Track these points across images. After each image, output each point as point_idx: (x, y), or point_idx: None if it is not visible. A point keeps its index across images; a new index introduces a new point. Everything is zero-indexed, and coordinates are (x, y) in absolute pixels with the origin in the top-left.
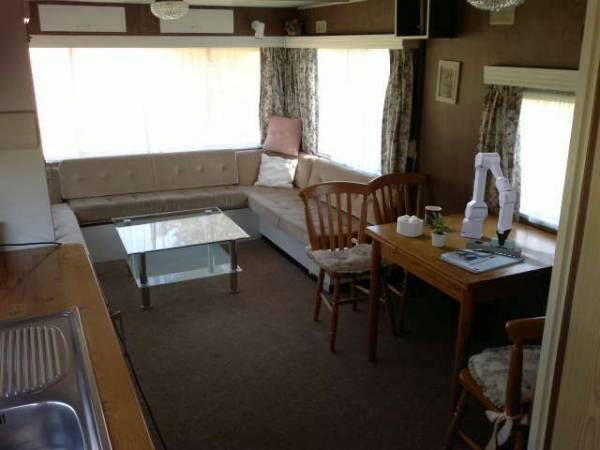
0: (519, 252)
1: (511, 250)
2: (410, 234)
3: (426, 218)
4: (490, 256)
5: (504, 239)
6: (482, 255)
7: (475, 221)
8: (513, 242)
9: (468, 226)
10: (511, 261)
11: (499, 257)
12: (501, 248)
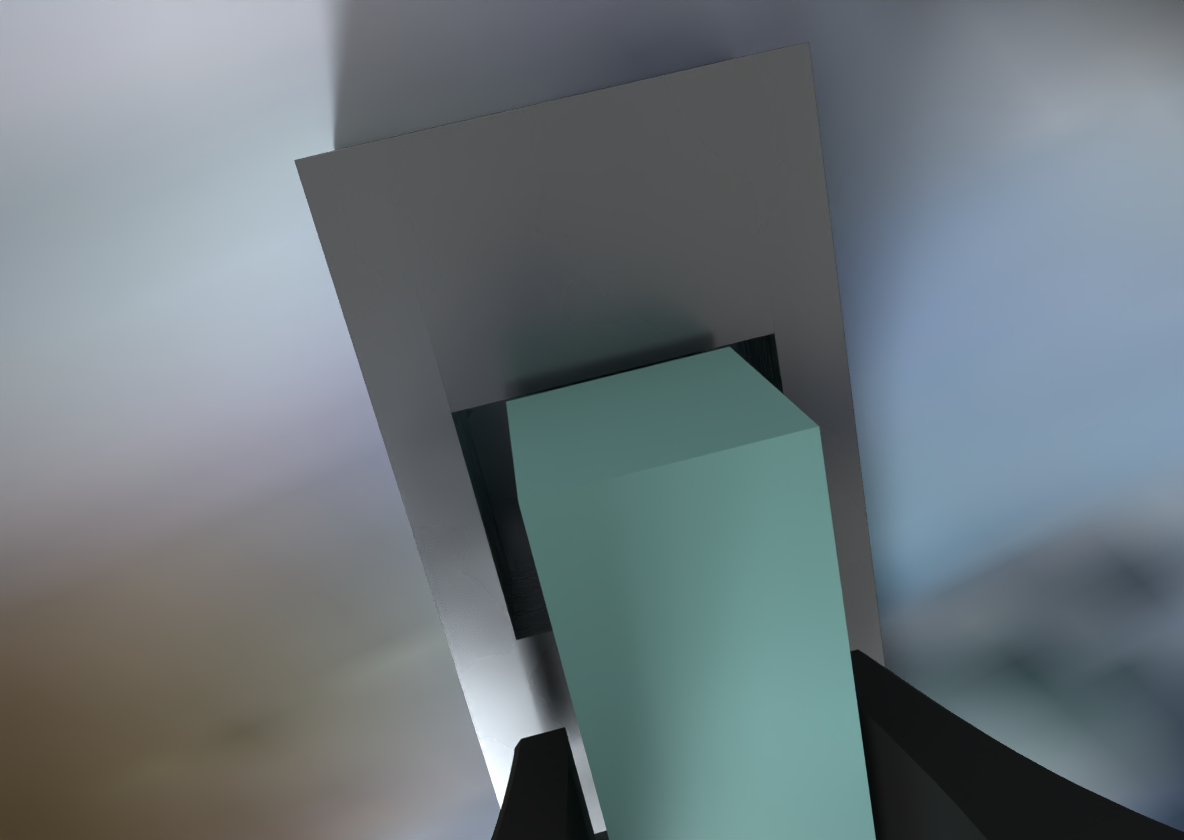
0: (796, 49)
1: (843, 335)
2: None
3: None
4: (1086, 623)
5: (1089, 813)
6: (1123, 754)
7: None
8: (819, 449)
9: None
10: (1157, 94)
11: (1028, 458)
12: (870, 630)
